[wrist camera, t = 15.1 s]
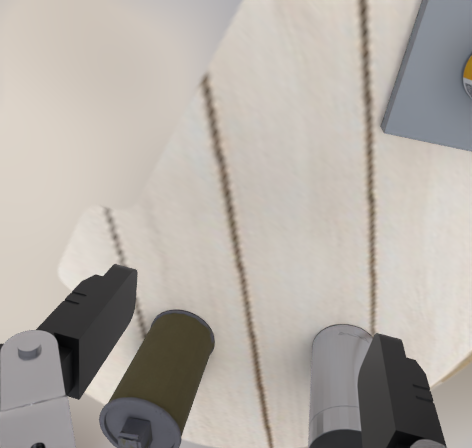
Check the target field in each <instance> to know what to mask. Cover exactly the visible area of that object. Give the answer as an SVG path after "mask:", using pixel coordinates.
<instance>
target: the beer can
mask: <svg viewBox="0 0 472 448" xmlns="http://www.w3.org/2000/svg"><path fill="white" fill-rule="evenodd" d="M463 83H464V87H465V90H466V92H467V94H468V95H469V96H470V97H471V98H472V55H471V57H470V58H469V60H468V62H467V64H466V66H465V69H464V74H463Z"/></svg>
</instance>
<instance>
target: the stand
mask: <svg viewBox="0 0 472 448" xmlns="http://www.w3.org/2000/svg"><path fill="white" fill-rule="evenodd" d="M471 55H472V0H422V3H421V6H420V9H419V12H418V15H417V18H416V22H415V25H414V28H413V31H412V34H411V37H410V40H409V43H408V46H407V49H406V52H405V55H404V58H403V61H402V64H401V67H400V70H399V73H398V76H397V79H396V82H395V85H394V88H393V91H392V94H391V97H390V101H389V104H388V107H387V110H386V113H385V116H384V119H383V122H382V125H381V128H382V130H383V132H384V133H386V134H391V135H396V136H401V137H405V138H410V139H415V140H420V141H424V142H429V143H434V144H439V145H443V146H448V147H453V148H458V149H462V150H467V151H472V98H471V97H470V96H469V95H468V94H467V92H466V90H465V87H464V83H463V74H464V69H465V66H466V64H467V62H468V60H469V58H470V57H471Z"/></svg>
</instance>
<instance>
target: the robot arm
mask: <svg viewBox="0 0 472 448" xmlns="http://www.w3.org/2000/svg"><path fill="white" fill-rule="evenodd" d="M136 288H137V270H136V269H132V268H128V267H124V266H121V265H117V264H114V265H113V266H112V267H111V268H110V269H109V270H108V271H107V273H106V274H105V275H104V276H99V275H94V276H92V277H90V278H88V279H86V280H84V281H82V282H81V283H80V284H79V285H78V286H77V287H76V288H75V289H74V290H73V291H72V293H70V295H68V296H67V298H66V299H65V301H63V302H62V303H61V304H60V305H59V306H58V307H57V308H56V309H55V310H54V311H53V312H52V313H51V314H50V315H49V317H47V319H46V320H45V321H44V322H43V323H42V324H41V325H40V326H39V327H38V328H37V329H36V330H30V331H25V332H21V333H18V334H16V335H14V336H12V337H11V338H10V339H8V340H7V341H6V342H5V344H0V448H76V446H75V439H74V433H73V426H72V420H71V413H70V408H69V401H68V397H67V396H69V397H72V398H75V399H80V398H81V396H82V395H83V393H84V392H85V390H86V389H87V387H88V386H89V384H90V383H91V381H92V380H93V378H94V377H95V375H96V374H97V372H98V370H99V369H100V367H101V366H102V364H103V363H104V361H105V360H106V358H107V357H108V355H109V354H110V352H111V351H112V349H113V348H114V346H115V345H116V343H117V342H118V340H119V338H120V337H121V335H122V334H123V332H124V331H125V329H126V328H127V326H128V325H129V323H130V321H131V319H132V316H133V313H134V309H135V301H136ZM429 390H430V387H429V384H428V380H427V377H426V374H425V373H424V371H423V370H422V368H421V367H420V366H419V364H418V363H417V362H416V360H413V359H410V358H406V355H405V351H404V347H403V343H402V340H401V339H398V338H394V337H390V336H386V335H382V334H378V333H376V334H375V335H374V337H373V338H372V336H371V335H369V334H368V333H367V332H366V331H364V330H362V329H360V328H358V327H355V326H350V325H336V326H331V327H329V328H326V329H324V330H323V331H321V332H320V333H319V334H318V335H317V336H316V338H315V339H314V342H313V345H312V365H311V387H310V411H309V438H308V448H447V447H446V444H445V440H444V436H443V433H442V430H441V426H440V422H439V419H438V415H437V412H436V408H435V405H434V403H433V398H432V395H431V391H429Z"/></svg>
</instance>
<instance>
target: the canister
mask: <svg viewBox="0 0 472 448" xmlns="http://www.w3.org/2000/svg"><path fill="white" fill-rule="evenodd" d="M213 349H214V336H213V333H212V331H211V329H210V327H209V326H208V325H207V324H206V323H205V321H204V320H202V319H201V318H199V317H198V316H196V315H195V314H192V313H190V312H186V311H182V310H170V311H166V312H163V313H161V314H160V315H158V316H157V317H156V318H155V320H154V321H153V323H152V325H151V329H150V331H149V332H148V334H147V336H146V338H145V339H144V341H143V343H142V345H141V346H140V348H139V350H138V352H137V353H136V355H135V357H134V359H133V360H132V362H131V364H130V366H129V367H128V369H127V371H126V373H125V374H124V376H123V378H122V380H121V381H120V383H119V385H118V387H117V388H116V390H115V392H114V394H113V395H112V397H111V399H110V401H109V402H108V404H106V405H105V406H104V408H103V409H102V411H101V413H100V418H99V422H100V427H101V429H102V431H103V433H104V435H105V436H106V437H107V439H108V440H109V441H110V442H111V443H112V444H113V445H114V446H115V447H117V448H179V446H180V444H181V436H182V433H183V430H184V427H185V424H186V421H187V418H188V416H189V413H190V410H191V407H192V404H193V401H194V398H195V395H196V393H197V390H198V387H199V384H200V381H201V378H202V375H203V372H204V370H205V367H206V364H207V361H208V358H209V355H210V354H211V353H212V351H213Z"/></svg>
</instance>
